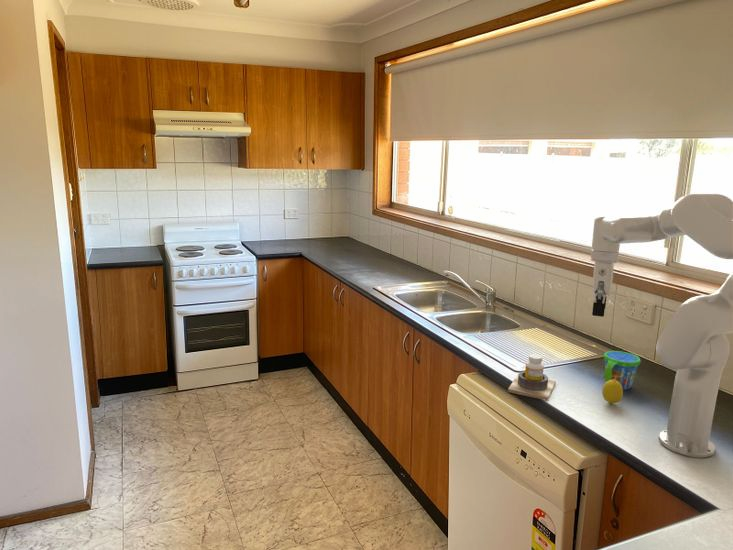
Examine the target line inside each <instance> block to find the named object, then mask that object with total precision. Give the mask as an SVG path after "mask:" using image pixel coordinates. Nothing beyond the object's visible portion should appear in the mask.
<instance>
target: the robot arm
mask: <svg viewBox="0 0 733 550" xmlns="http://www.w3.org/2000/svg"><path fill="white" fill-rule="evenodd" d="M593 221H594V222H593V231H592V232H593V233H592V240H591V241H592V243H591V251H590V252H591V253H590V261H591V262H594V266H593V278H592V293H593V295H594V299H593V300H594V301H593V304H592V312H591V313H592V316H595V317H602V318H603V317H604V316H605V310H606V305H607V297H611V295H612V289H613V287H612V286H613V280H614V271H615V270H614V269H615V268H614V267H615V265H614V264H617V263H618V262H619V255H620V253H619V252H620V244H622V245H623V244H635V243H636V244H637V243H650V242H657V241H662V240H668V239H673V238H676V237H680V236H681V237H682V236H687V237H688V238H690V239H691V240H692V241H694V242H695V243H696V244H698V245H699V246H700V247H702V248H703V249H704V250H706V251H707V252H708V253H710V254H712V255H713V256H715V257H718V258H719V259H724V260H733V200H732V199H731V198H730V197H728V196H726V195H723V194H719V193H691V194H686V195H682V197H680V198H678V200H676V201H675V202H674V203H669V204H666V205H664V206H663V207H662V208H661V209H660V211H659V212H658V213H654V214H650V215H636V216H634V215H633V216H632V215H631V216H620V215H617V214H606V213H603V214H598V215H595V217H594V220H593ZM728 334H733V271H732V272H731V273H730V274H729V275H728V277H726V279H725V281H724V283H723V284H722V285H721V286H720V287H719V289H718V290H717V291H715V292H714V293H711V294H705V295H702V294H701V295H696V296H693V297H690V298H689V299H686V300H685V301H684V302H682V303H681V304H680V306H679V307H678V308H677V310H676V311H675V312H674V315H673V316H672V317H671V318H670V320H669V321H668V323H667V324H666V326H665V327H664V329H663V330H662V332H661V333H660V335H659V337H658V338H657V340H656V341H657V342H656V347H655V349H656V356H657V359H658V360H659V361H660V363H661V364H662V365H663V366H665V367H666V368H668V369H672V370H677V371H676V373H675V376H674V377H675V378H674V382H673V387H672V388H673V389H672V395H671V400H670V401H671V402H670V408H669V413H668V419H667V426H666V429H664V430H662V431H660V432H659V433H658V441H659V443H660V444H661V445H662V446H664V448H667V449H668V450H670V451H672V452H674V453H677V454H680V455H683V456H687V457H692V458H709V457H712V456H713V455H714V454H715V452H716V447H715V445H714V443H713V442H712V441H710V437H711V432H712V426H713V419H714V414H715V408H716V403H717V397H718V392H719V388H720V384H721V383H720V382H721V379H722V375H723V372H724V369H725V367H726V364H727V362H728V360H729V356H730V352H731V351H730V350H731V345H730V342H729V339H728V337H727V336H726V335H728Z"/></svg>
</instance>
